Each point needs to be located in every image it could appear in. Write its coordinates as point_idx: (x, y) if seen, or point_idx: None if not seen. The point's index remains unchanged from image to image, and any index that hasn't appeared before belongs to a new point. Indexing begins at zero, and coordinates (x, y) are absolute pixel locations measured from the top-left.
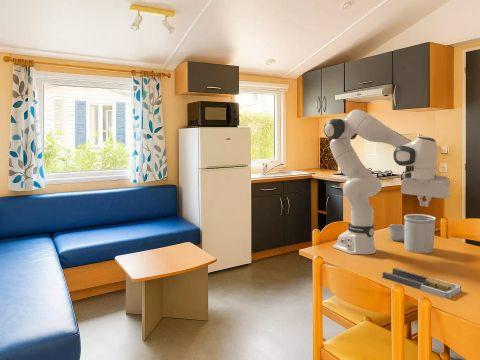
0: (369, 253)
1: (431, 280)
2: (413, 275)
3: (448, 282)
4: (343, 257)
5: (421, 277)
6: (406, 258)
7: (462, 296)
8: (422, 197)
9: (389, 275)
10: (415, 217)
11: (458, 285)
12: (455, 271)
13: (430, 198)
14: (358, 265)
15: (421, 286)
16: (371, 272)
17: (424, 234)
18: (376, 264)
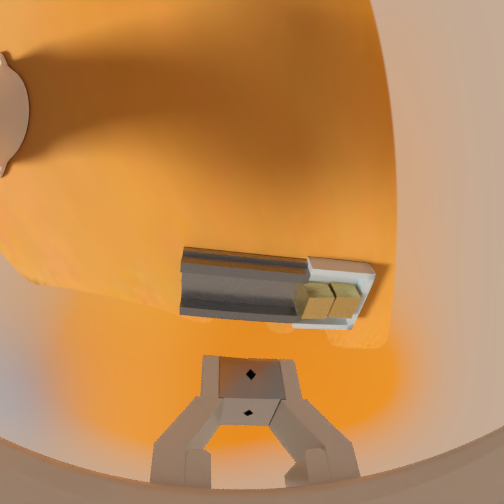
0: (24, 130)
1: (314, 313)
2: (252, 277)
3: (348, 273)
4: (9, 217)
5: (277, 280)
6: (132, 59)
7: None
8: (209, 460)
9: (201, 315)
10: None
11: (370, 276)
12: (331, 87)
13: (343, 458)
14: (72, 248)
15: (294, 326)
16: (130, 274)
17: None
18: (94, 203)
